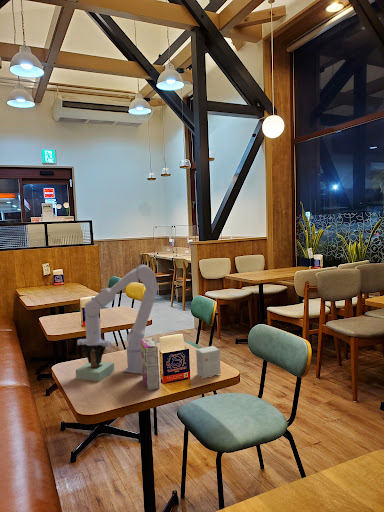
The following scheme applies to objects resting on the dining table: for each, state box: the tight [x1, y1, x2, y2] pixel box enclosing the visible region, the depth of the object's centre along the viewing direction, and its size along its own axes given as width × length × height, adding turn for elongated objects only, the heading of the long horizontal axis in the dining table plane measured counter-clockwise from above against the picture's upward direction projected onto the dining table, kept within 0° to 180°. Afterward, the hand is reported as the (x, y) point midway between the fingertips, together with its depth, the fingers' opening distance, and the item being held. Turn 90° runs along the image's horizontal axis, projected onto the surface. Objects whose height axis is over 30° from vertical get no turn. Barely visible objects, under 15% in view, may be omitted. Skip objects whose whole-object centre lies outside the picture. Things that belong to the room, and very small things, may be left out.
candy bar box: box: [140, 337, 160, 391], centre depth 143 cm, size 11×5×16 cm, turn 17°
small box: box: [195, 345, 221, 379], centre depth 150 cm, size 8×6×10 cm
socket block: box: [75, 361, 115, 382], centre depth 155 cm, size 11×11×4 cm
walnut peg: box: [90, 349, 99, 369], centre depth 154 cm, size 3×3×8 cm
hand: (95, 362), depth 154 cm, fingers closed on walnut peg, 3 cm apart
